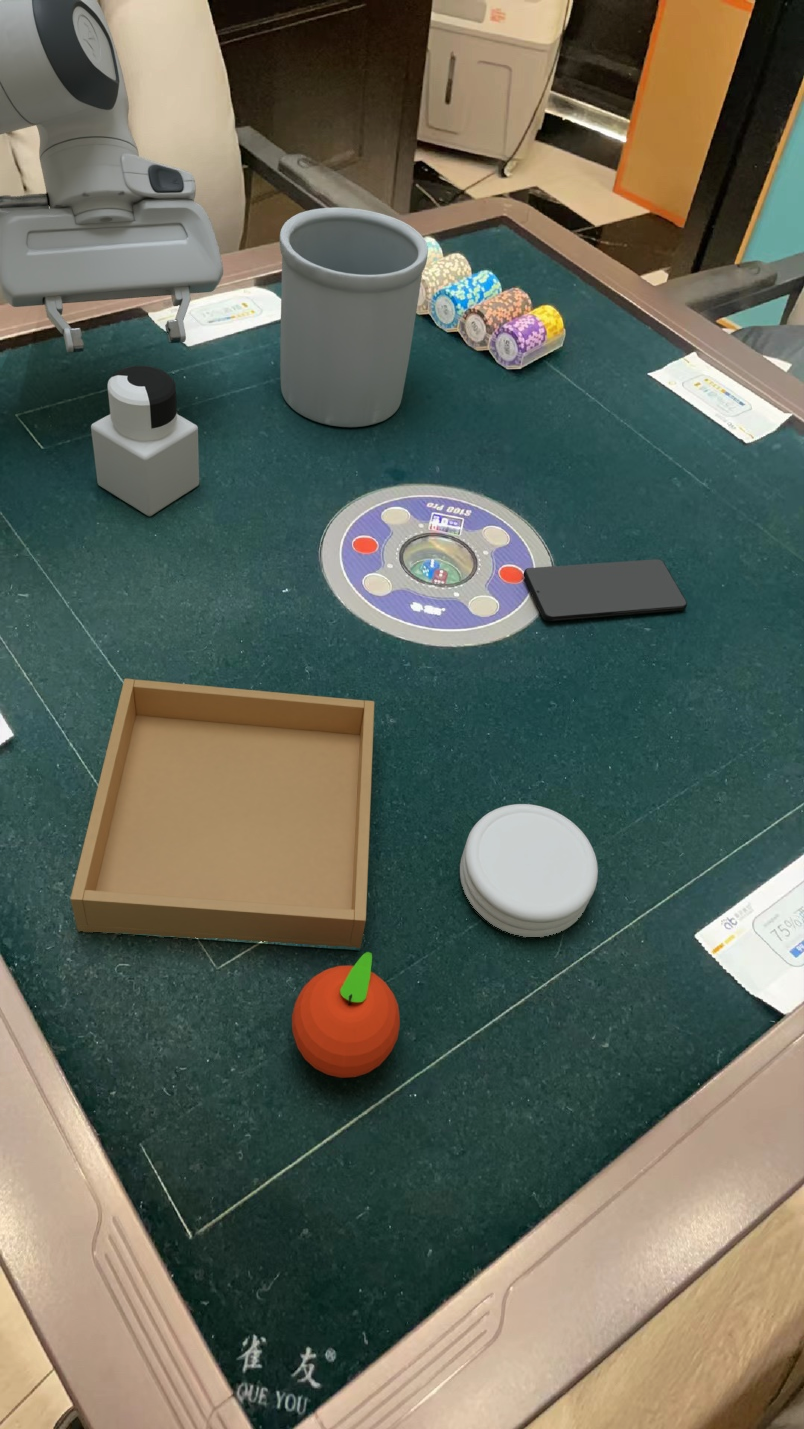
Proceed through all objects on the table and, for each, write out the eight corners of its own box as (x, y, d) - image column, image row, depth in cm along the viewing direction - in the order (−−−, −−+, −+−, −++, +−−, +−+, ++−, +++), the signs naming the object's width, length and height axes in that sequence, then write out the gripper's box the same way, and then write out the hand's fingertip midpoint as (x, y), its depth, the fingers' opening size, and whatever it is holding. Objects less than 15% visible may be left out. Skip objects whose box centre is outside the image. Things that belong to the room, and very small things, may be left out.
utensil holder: (272, 352, 121) (277, 199, 108) (399, 358, 124) (419, 210, 111) (276, 428, 112) (282, 271, 99) (413, 434, 115) (437, 281, 101)
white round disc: (608, 926, 78) (621, 902, 75) (483, 953, 75) (492, 929, 73) (558, 816, 84) (569, 791, 81) (441, 838, 81) (448, 812, 79)
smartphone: (690, 605, 101) (545, 617, 97) (686, 612, 102) (543, 624, 98) (662, 557, 105) (522, 567, 101) (659, 564, 106) (520, 573, 102)
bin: (77, 931, 72) (69, 899, 69) (128, 714, 85) (124, 678, 82) (359, 951, 74) (366, 920, 71) (368, 736, 87) (374, 700, 83)
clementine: (315, 966, 73) (322, 916, 68) (410, 999, 72) (425, 951, 67) (273, 1073, 68) (277, 1028, 62) (375, 1109, 67) (387, 1067, 62)
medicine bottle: (148, 454, 107) (141, 347, 98) (201, 485, 105) (198, 379, 95) (96, 485, 103) (83, 377, 94) (149, 518, 100) (141, 411, 91)
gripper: (-25, 182, 90) (11, 348, 92) (210, 173, 96) (238, 327, 98) (-22, 210, 96) (11, 365, 98) (199, 199, 102) (226, 344, 104)
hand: (127, 346), depth 98 cm, fingers open, 8 cm apart
